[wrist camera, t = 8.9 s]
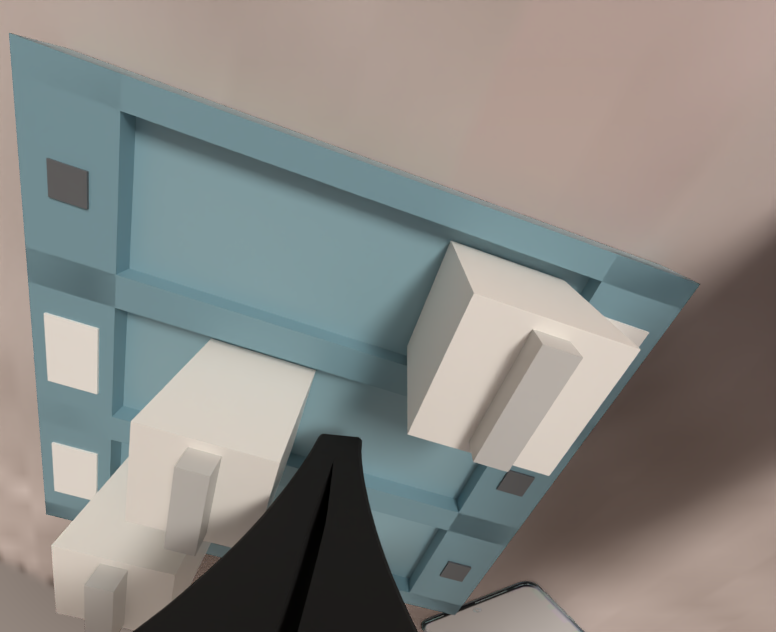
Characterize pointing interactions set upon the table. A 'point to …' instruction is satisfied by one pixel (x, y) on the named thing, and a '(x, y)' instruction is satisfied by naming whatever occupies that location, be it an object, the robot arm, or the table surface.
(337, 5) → the table surface
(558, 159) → the table surface
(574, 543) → the table surface
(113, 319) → the switch board
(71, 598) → the tab
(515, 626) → the smartphone
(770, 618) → the table surface
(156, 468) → the tab
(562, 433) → the tab
